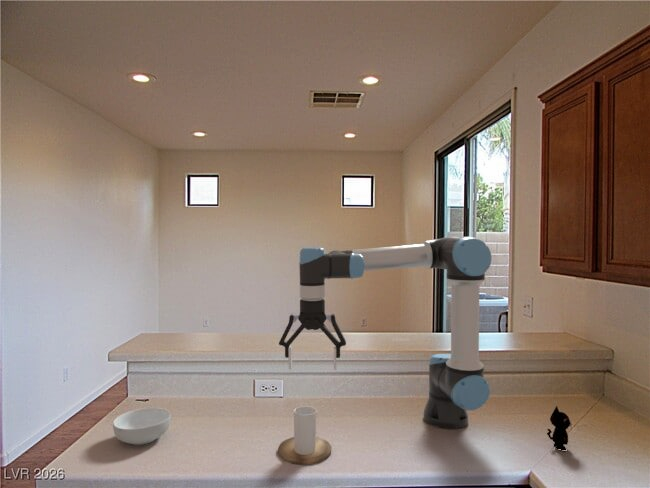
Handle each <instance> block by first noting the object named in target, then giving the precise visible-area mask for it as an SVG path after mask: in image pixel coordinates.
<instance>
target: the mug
mask: <svg viewBox="0 0 650 488" xmlns="http://www.w3.org/2000/svg"><path fill="white" fill-rule="evenodd" d="M317 414H318V412H317V409H316V408H315V407H314V406H309V405H301V406H298V407H295V408H294V409H293V434H294V435H293V437H294V447H295V452H296V453H298V454H301V455H309V454H312V453H314V452H315V449H316V437H317V418H318V417H317Z"/></svg>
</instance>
